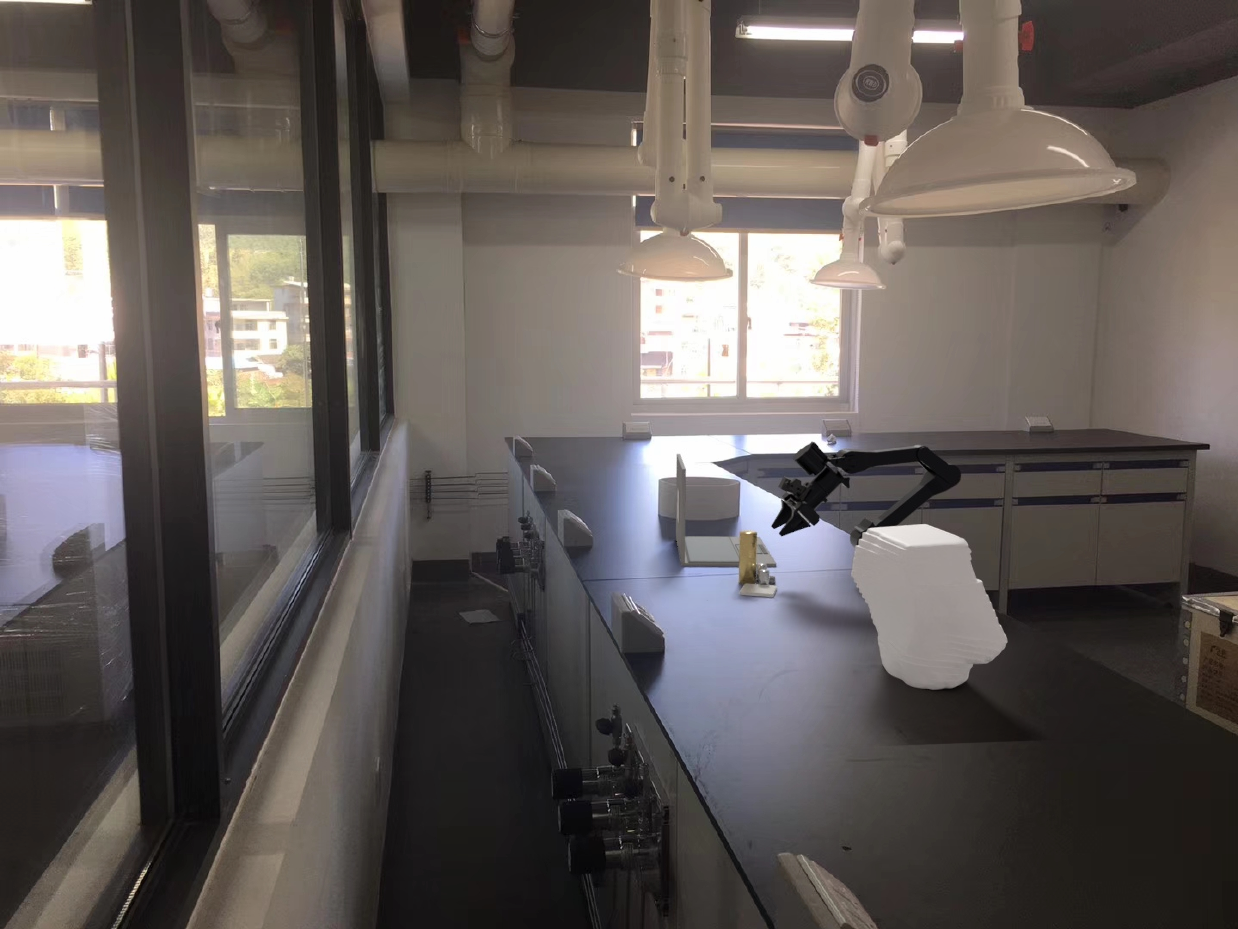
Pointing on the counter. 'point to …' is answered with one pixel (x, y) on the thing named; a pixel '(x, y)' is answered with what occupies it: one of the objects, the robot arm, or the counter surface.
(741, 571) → the brass tube
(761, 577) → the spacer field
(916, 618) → the paper stack
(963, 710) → the counter surface
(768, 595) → the tile
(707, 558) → the laptop
